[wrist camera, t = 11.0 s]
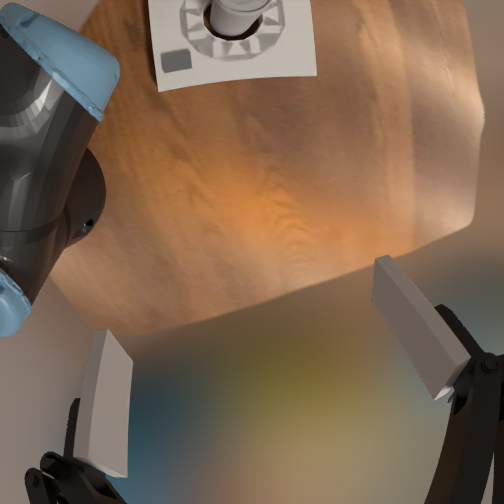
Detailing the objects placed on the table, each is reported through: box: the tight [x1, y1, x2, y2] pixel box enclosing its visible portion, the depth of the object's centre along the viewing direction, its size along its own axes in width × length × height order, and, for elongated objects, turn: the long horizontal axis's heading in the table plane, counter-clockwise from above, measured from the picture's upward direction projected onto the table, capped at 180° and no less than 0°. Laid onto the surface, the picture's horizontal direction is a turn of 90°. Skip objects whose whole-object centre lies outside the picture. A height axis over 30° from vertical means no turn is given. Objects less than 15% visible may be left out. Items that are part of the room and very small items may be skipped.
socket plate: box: [148, 0, 317, 92], centre depth 24 cm, size 18×16×3 cm
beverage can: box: [210, 0, 272, 37], centre depth 21 cm, size 5×5×12 cm
